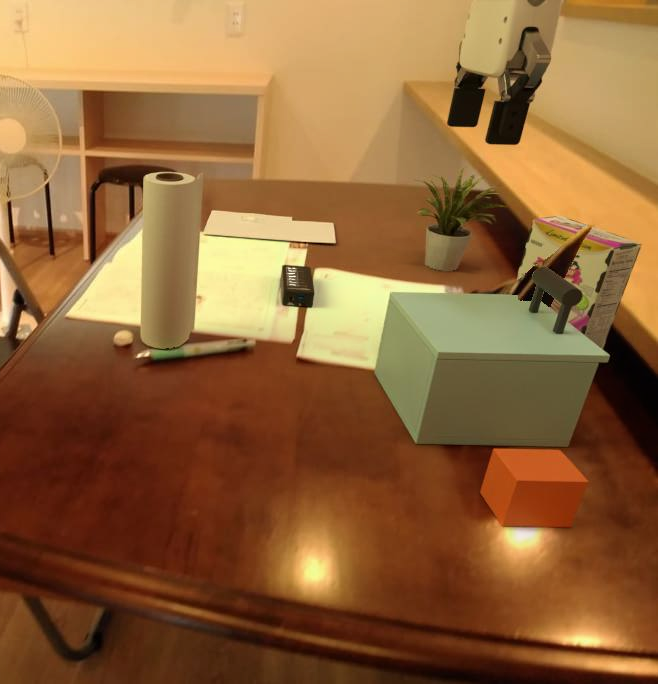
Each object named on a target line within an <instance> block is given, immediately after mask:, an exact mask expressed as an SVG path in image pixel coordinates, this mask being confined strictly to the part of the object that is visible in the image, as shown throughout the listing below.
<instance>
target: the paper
mask: <svg viewBox="0 0 658 684" xmlns="http://www.w3.org/2000/svg"><path fill="white" fill-rule="evenodd" d="M205 224H206V225H205V227H204V229H203V232H202V234H203V235H211V236H212V235H213V236H223V237H225V236H227V237H236V238H237V237H238V238H239V237H240V238H249V239H250V238H251V239H262V240H263V239H264V240H276V241H289V242H290V241H291V242H303V243H304V242H306V243H322V244H336V243H337V241H336V231H335V224H334V222H325V221H309V220H307V221H306V220H293V216H281V215H271V214H262V213H253V212H250V213H249V212H234V211H228V210H227V211H225V210H214V209H212V210H211V212H210V214H209V217H208V219H207V221H206V223H205Z"/></svg>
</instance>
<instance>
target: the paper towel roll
mask: <svg viewBox="0 0 658 684" xmlns="http://www.w3.org/2000/svg"><path fill="white" fill-rule="evenodd" d="M204 174H205V173H204V172H201V173H199V174H198V175H197V178H196V177H194V176H193V175H190V174H188V173H184V172H183V173H182V172H175V171H174V172H173V171H158V172H151V173H148V174H145V175H144V176H143V183H142V185H143V186H142V227H141V229H142V231H141V232H142V233H141V234H142V237H141V238H142V239H141V277H140V279H141V281H140V282H141V283H140V286H141V287H140V329H139V330H140V335H139V337H140V339H141V342H142V343H143V344H144V345H146V346H148V347H151V348H154V349H160V350H161V349H162V350H167V349H166V348H169V349H174V348H173V347H175V348H179V347H181V346H182V345H184V344H185V343H187V341H189V340H190V335H191V332H192V331H193V330H195V326H196V325H195V324H196V309H197V308H196V307H197V291H198V289H197V288H198V274H199V256H200V255H199V254H200V242H201V241H200V240H201V226H202V225H201V223H202V222H201V221H202V208H203V207H202V206H203V190H204V188H203V187H204Z"/></svg>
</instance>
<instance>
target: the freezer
mask: <svg viewBox="0 0 658 684" xmlns="http://www.w3.org/2000/svg"><path fill="white" fill-rule="evenodd" d="M380 336H381V337H380V340H379V341H380V342H379V347H378V352H377V357H376V361H375V367H374V372H373V373H374V376H375V377H376V379H377V381H378V382H379V384H380V386H381V387H382V389H383V390H384V392H385V394H386V396H387V397H388V399H389V401H390V403H391V404H392V406H393V408H394V410H395V411H396V412H397V414H398V416H399V418H400V420H401V421H402V423H403V425H404V426H405V428H406V430H407V431H408V433H409V434H410V437H411V438H412V440H413V442H414V443H415V444H416V445H451V446H452V445H454V446H456V445H457V446H496V447H497V446H499V447H500V446H501V447H503V446H504V447H548V448H549V447H553V448H556V447H557V448H568V447H569V446H570V443H571V440H572V437H573V435H574V432H575V429H576V427H577V424H578V421H579V419H580V416H581V414H582V411H583V407H584V406H585V402H586V398H587V397H588V394H589V391H590V388H591V386H592V383H593V381H594V378H595V375H596V372H597V370H598V367H599V363H600V362H560V361H512V360H464V359H436V357H435V356H434V355H433V354H432V352H431V351H430V350H429V348H428V347H427V346H426V345H425V343H424V342H423V341H422V339H421V338H420V337H419V336H418V334H417V333H416V332H415V331H414V329H413V328H412V327H411V325H410V324H409V323H408V322H407V320H406V319H405V318H404V316H403V315H402V314H401V313H400V311H399V310H398V309H397V307H396V306H395V305H394V304H393V302H392V301H391V300H390V299H389V298H388V302H387V306H386V312H385V317H384V322H383V327H382V331H381V335H380Z"/></svg>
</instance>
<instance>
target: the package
mask: <svg viewBox="0 0 658 684" xmlns="http://www.w3.org/2000/svg"><path fill="white" fill-rule="evenodd" d="M588 484H589V480H588V479H587V477H585V475H584V474H583V473H582V472H581V471H580V470H579V469H578V468H577V466H575V464H574V463H573V462H572V461H571V460H570V459H569V458H568V457H567V456H566V455H565V454H564V452H563V451H562V450H561V449H544V448H543V449H538V448H537V449H535V448H495V447H494V448H493V449H492V452H491V455H490V458H489V462H488V464H487V468H486V471H485V474H484V478H483V482H482V484H481V488H480V491H479V494H480V495H481V496H482V499H483V500H484V501H485V502H486V504H487V506H488V507H489V509H490V511H491V512H492V513H493V515H494V516H495V518H496V519H497V521H498V522H499V524H500V525H501V527H536V528H537V527H538V528H571V527H572V525H573V522H574V520H575V518H576V516H577V512H578V510H579V507H580V505H581V502H582V500H583V498H584V495H585V492H586V489H587V487H588V486H589V485H588Z"/></svg>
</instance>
